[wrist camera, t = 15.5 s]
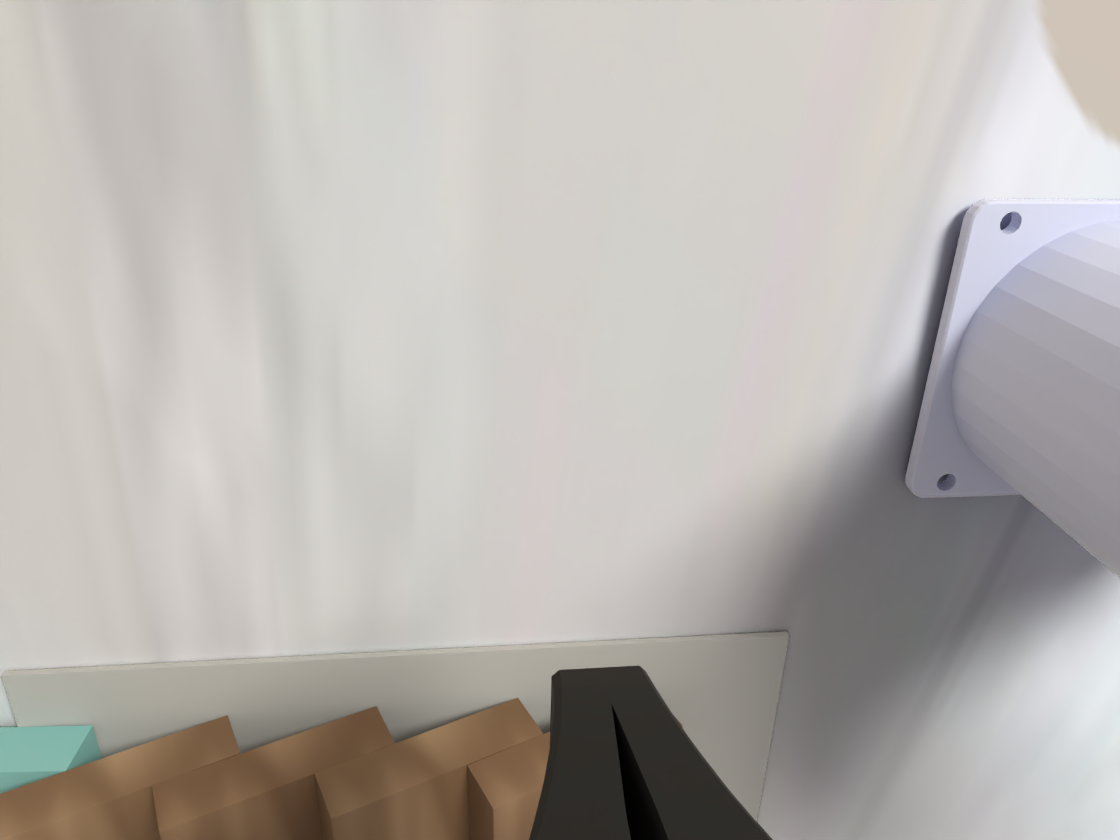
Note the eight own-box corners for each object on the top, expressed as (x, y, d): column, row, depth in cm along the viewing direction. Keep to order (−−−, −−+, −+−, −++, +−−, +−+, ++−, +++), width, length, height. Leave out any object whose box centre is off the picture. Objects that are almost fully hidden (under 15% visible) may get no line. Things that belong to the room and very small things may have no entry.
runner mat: (787, 630, 25) (789, 635, 25) (753, 828, 29) (754, 833, 29) (4, 670, 23) (1, 676, 23) (71, 880, 27) (69, 886, 26)
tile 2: (543, 733, 24) (331, 818, 21) (541, 852, 26) (346, 943, 23) (518, 697, 25) (314, 773, 22) (517, 813, 27) (331, 895, 25)
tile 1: (683, 725, 24) (493, 809, 22) (669, 842, 26) (495, 932, 24) (650, 690, 26) (467, 765, 23) (640, 804, 28) (470, 886, 25)
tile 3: (395, 743, 23) (159, 832, 21) (404, 862, 26) (190, 957, 23) (376, 705, 25) (151, 785, 22) (386, 822, 27) (181, 908, 24)
